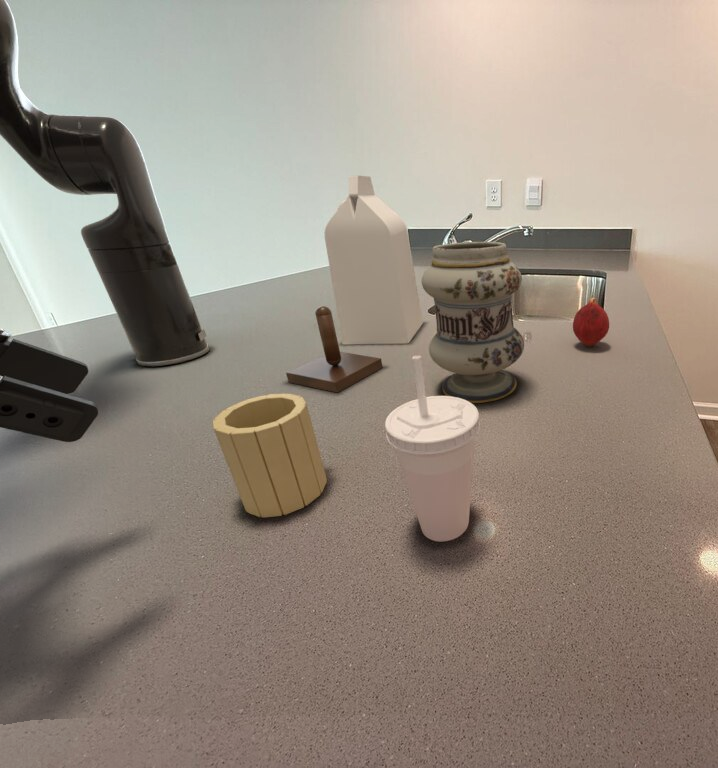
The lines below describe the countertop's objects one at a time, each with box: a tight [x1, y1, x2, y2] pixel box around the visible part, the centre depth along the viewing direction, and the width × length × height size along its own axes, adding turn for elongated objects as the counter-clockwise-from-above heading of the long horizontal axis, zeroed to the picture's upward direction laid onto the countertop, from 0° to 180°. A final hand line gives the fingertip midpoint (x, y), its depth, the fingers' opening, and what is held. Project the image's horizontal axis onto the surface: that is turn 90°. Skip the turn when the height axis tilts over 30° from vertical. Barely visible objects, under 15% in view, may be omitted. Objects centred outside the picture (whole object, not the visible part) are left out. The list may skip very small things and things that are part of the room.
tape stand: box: [285, 305, 384, 393], centre depth 56 cm, size 9×9×10 cm
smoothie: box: [384, 355, 481, 542], centre depth 29 cm, size 6×6×14 cm
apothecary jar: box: [421, 241, 525, 404], centre depth 50 cm, size 12×12×18 cm
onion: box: [572, 297, 610, 347], centre depth 65 cm, size 6×6×8 cm
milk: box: [324, 175, 424, 346], centre depth 70 cm, size 12×12×26 cm
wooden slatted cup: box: [212, 392, 328, 518], centre depth 34 cm, size 6×6×8 cm
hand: (84, 399), depth 25 cm, fingers open, 8 cm apart
